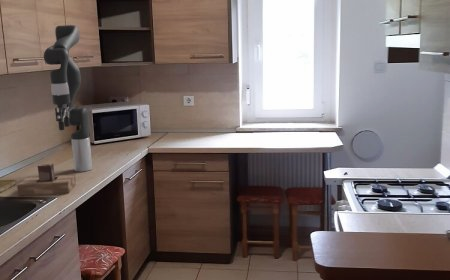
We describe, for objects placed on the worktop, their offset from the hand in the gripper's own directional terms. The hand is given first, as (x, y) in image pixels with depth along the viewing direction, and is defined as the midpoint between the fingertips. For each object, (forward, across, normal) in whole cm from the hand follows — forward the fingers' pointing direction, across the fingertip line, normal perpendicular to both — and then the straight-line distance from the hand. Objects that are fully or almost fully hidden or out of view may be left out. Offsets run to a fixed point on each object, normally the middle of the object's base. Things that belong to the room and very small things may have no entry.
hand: (64, 128), depth 222 cm
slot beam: (+27, +6, -9) cm, 29 cm away
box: (+28, +6, -9) cm, 30 cm away
